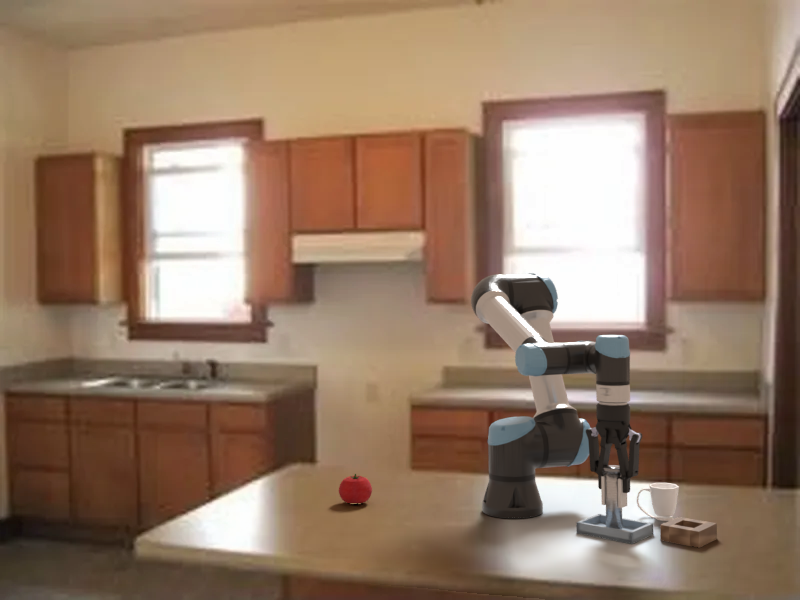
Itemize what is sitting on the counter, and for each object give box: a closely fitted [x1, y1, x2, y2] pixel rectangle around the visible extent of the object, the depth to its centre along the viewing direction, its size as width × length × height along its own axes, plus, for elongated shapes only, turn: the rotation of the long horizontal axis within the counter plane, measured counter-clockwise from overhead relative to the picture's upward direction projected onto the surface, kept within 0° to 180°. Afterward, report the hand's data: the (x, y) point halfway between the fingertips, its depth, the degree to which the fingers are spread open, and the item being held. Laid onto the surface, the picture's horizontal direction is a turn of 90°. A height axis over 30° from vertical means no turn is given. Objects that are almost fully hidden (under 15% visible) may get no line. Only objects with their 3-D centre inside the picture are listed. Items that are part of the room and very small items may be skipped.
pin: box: [603, 464, 623, 530], centre depth 211 cm, size 5×5×14 cm
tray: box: [575, 513, 654, 545], centre depth 211 cm, size 14×10×2 cm
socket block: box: [659, 516, 718, 549], centre depth 205 cm, size 9×9×4 cm
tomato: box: [338, 473, 373, 504], centre depth 244 cm, size 9×9×8 cm
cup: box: [636, 482, 680, 522], centre depth 224 cm, size 7×10×8 cm
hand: (614, 504), depth 211 cm, fingers closed on pin, 4 cm apart
